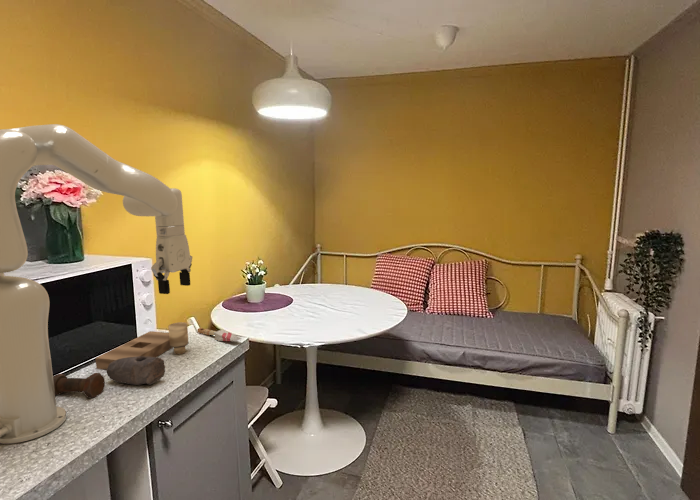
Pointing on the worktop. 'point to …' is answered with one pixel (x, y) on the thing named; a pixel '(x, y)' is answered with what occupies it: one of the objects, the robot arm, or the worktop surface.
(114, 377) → the perforated stone tool
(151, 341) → the board
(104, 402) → the worktop surface
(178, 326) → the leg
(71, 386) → the bolt
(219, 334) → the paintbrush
